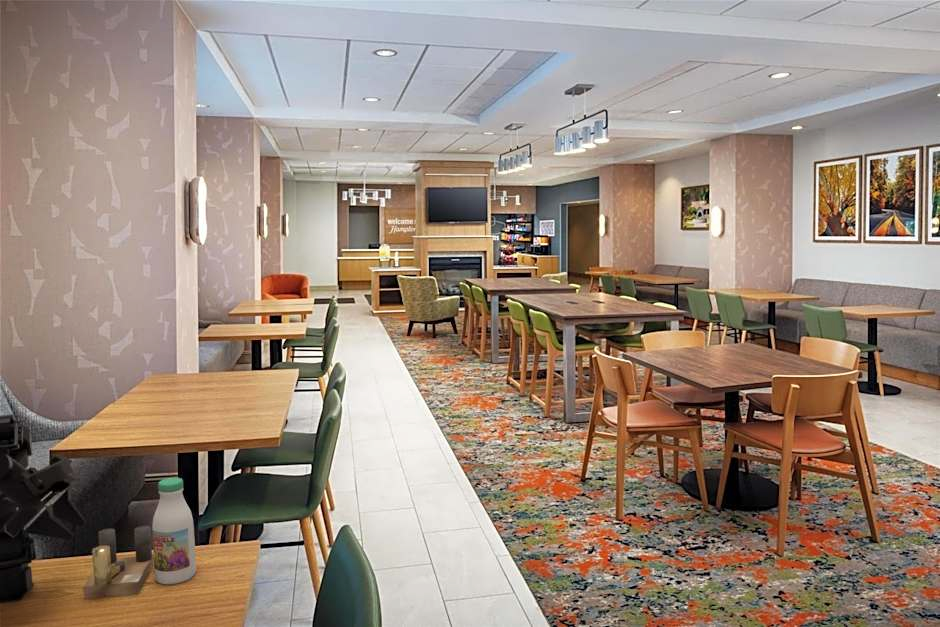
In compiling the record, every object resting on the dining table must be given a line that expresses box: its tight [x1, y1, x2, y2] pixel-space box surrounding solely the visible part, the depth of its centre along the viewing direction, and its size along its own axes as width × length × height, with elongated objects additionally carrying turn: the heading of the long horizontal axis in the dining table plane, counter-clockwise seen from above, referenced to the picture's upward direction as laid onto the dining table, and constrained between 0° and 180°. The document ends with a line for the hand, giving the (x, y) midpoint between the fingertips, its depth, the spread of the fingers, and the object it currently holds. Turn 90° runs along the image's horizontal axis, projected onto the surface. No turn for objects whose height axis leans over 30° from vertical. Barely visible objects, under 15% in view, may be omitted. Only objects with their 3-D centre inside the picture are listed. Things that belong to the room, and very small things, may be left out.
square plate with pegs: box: [82, 525, 154, 600], centre depth 140 cm, size 10×12×9 cm
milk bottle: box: [151, 477, 197, 585], centre depth 142 cm, size 8×8×20 cm
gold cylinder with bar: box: [91, 545, 120, 585], centre depth 136 cm, size 6×3×6 cm, turn 175°
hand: (78, 531), depth 133 cm, fingers open, 6 cm apart
